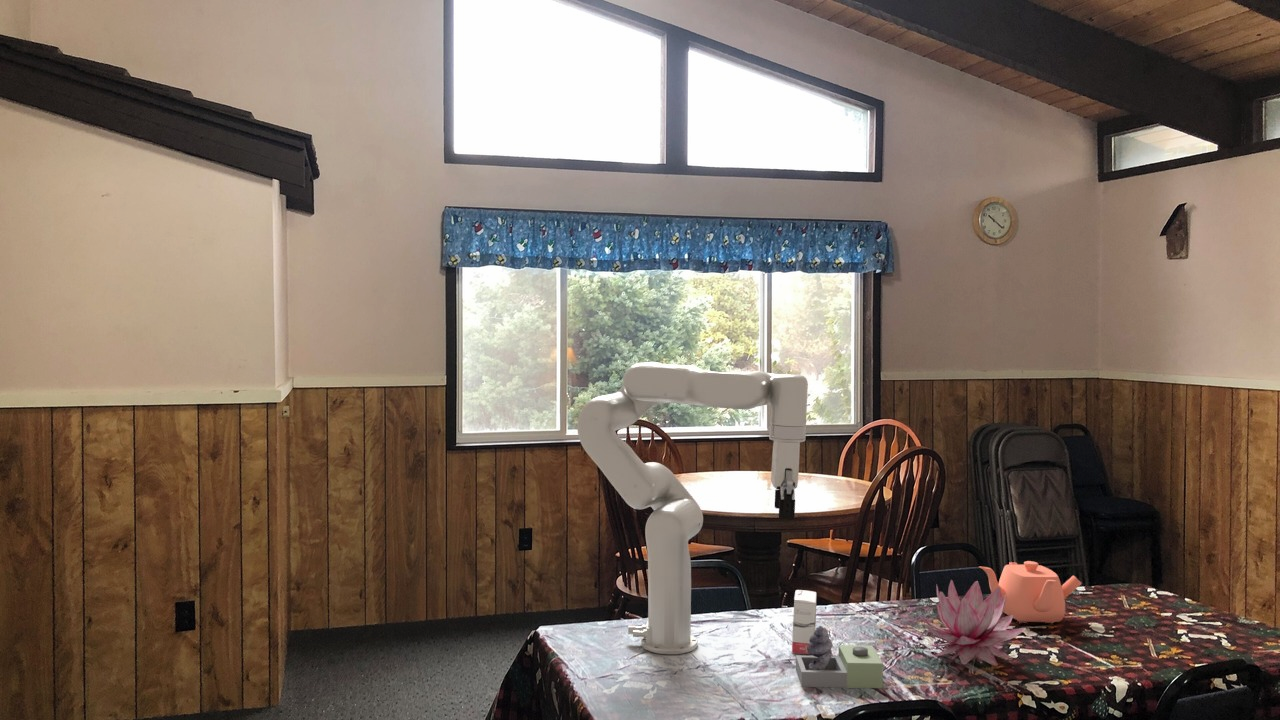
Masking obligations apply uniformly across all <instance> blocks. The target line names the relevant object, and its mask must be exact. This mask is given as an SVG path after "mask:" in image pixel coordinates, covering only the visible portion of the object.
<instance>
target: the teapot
mask: <svg viewBox="0 0 1280 720" xmlns="http://www.w3.org/2000/svg"><path fill="white" fill-rule="evenodd" d="M1008 563H1009V564H1006V565H1004V566H1003V570H1002V572H1001V575H1000V578H999V581H998V580H997V575H996V573H995V571H994V570H993V569H992V568H991V567H988V566H979V568H980V569H982V570H983V571H984V572H985V574H986V576H987V577H988V584H989V589H990V594H991V593H992V592H993V591H994V590H995V589H996V588H997V587H1000V589H1001V600H1002V599H1003V597H1004V596H1005V594H1006V601H1005V607H1004V610H1003V612H1002V613H1004V614H1005V615H1006V616H1009V615H1013V618H1012V619H1014V620H1015V621H1016V620H1017V621H1019V622H1025V623H1026V622H1028V623H1029V622H1031V623H1044V622H1045V623H1044V624H1046V623H1054V622H1055V623H1058V622H1061V621H1062V620H1063V619H1064V616H1065V614H1066V602H1065V599H1066V598H1067V597H1068V596H1070V595H1071V594H1072V593H1073V592H1074V591H1075V590H1077V589H1078V588H1079V587H1080V586H1081V585H1082V584H1083V583H1082V581H1080V580H1079V579H1078V578H1077V576H1075V575H1072V576H1071V577H1070V578H1068V579H1067V580H1065V582H1064V583H1063V584H1062V583H1061V580H1060V578H1059V576H1058V574H1057V573H1056V572H1054V571H1053V570H1052V569H1050V568H1049V567H1046V566H1043V565H1041V564H1040V565H1039V563H1038V562H1036V561H1031V560H1027V561H1024V562H1023V564H1018V563H1017V562H1012V561H1010V562H1008Z"/></svg>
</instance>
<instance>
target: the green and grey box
mask: <svg viewBox="0 0 1280 720" xmlns="http://www.w3.org/2000/svg"><path fill="white" fill-rule="evenodd" d="M817 659H818V657H815V656H813V655H800V654H799V655H798V654H797V655H795V671H796V675H797V677H798V681H799V684H800V686H801V687H803V688H804V687H806V688H843V689H844V688H845V689H846V688H847V689H848V688H849V689H850V688H853V689H855V688H856V689H883V686H884V685H883V683H884V681H883V680H884V676H883V675H884V672H883V671H884V664H883V663H884V662H883V661H882V660H881V657H880V655H879V654H878V653H877V651H876V649H875V648H874V645H861V644H860V645H856V644H855V645H853V644H852V645H851V644H838V655H832V656H831V659H830V661H829V662H828V664H827V666H826V668H825V669H824V670H810V669H809V664H811V663H813V660H815V661H817ZM801 687H800V688H801Z"/></svg>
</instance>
